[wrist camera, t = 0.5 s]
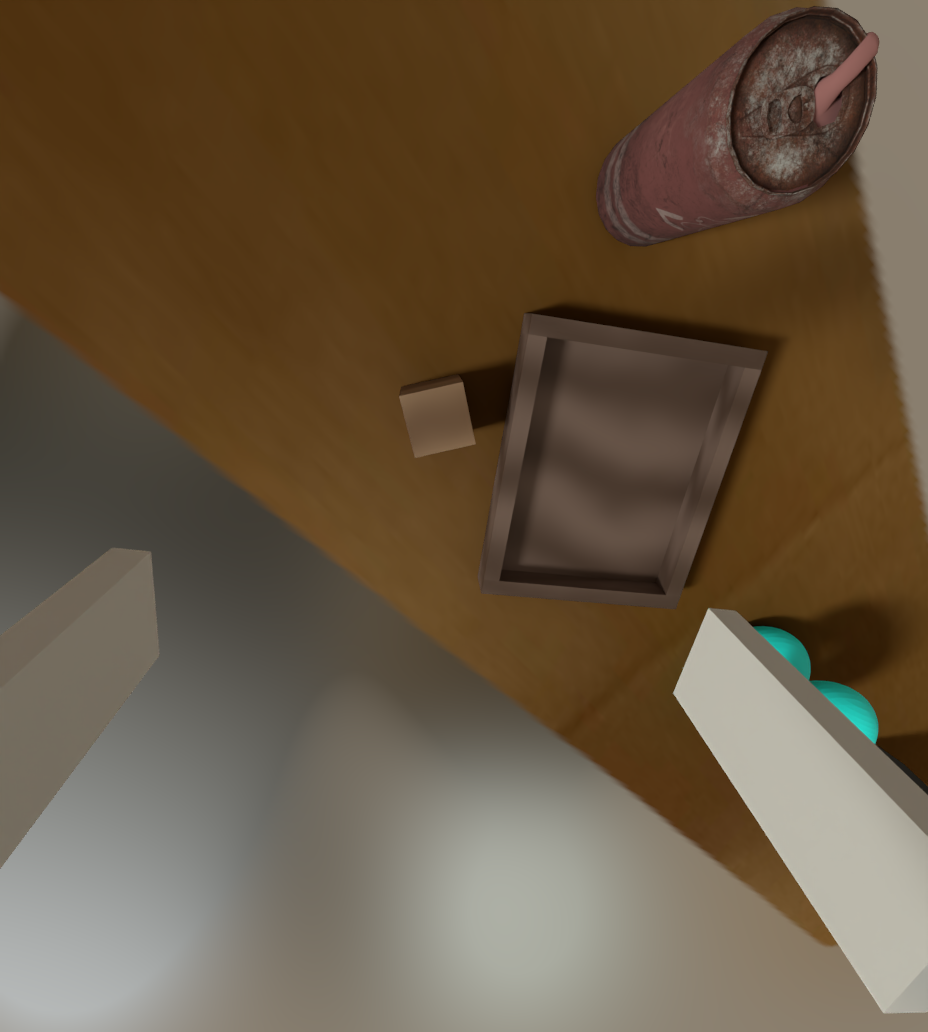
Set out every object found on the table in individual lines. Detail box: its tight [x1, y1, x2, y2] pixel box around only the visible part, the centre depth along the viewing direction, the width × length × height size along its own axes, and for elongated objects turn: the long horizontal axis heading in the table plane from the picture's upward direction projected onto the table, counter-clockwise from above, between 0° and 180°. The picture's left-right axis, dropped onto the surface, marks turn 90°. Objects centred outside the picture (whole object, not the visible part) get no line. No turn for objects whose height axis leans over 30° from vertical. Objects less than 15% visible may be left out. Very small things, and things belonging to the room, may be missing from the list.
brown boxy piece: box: [399, 374, 475, 458], centre depth 33 cm, size 4×4×4 cm
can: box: [596, 6, 879, 246], centre depth 24 cm, size 6×6×14 cm
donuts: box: [753, 626, 878, 744], centre depth 41 cm, size 10×10×10 cm
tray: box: [478, 313, 768, 609], centre depth 36 cm, size 20×16×2 cm
